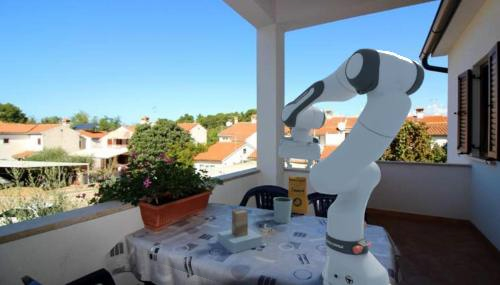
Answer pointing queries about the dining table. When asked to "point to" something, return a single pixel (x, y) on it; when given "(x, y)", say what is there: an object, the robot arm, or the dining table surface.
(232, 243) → the slate base
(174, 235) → the dining table surface
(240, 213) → the walnut block
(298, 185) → the coffee package
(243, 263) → the dining table surface
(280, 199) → the embossed ceramic cup
